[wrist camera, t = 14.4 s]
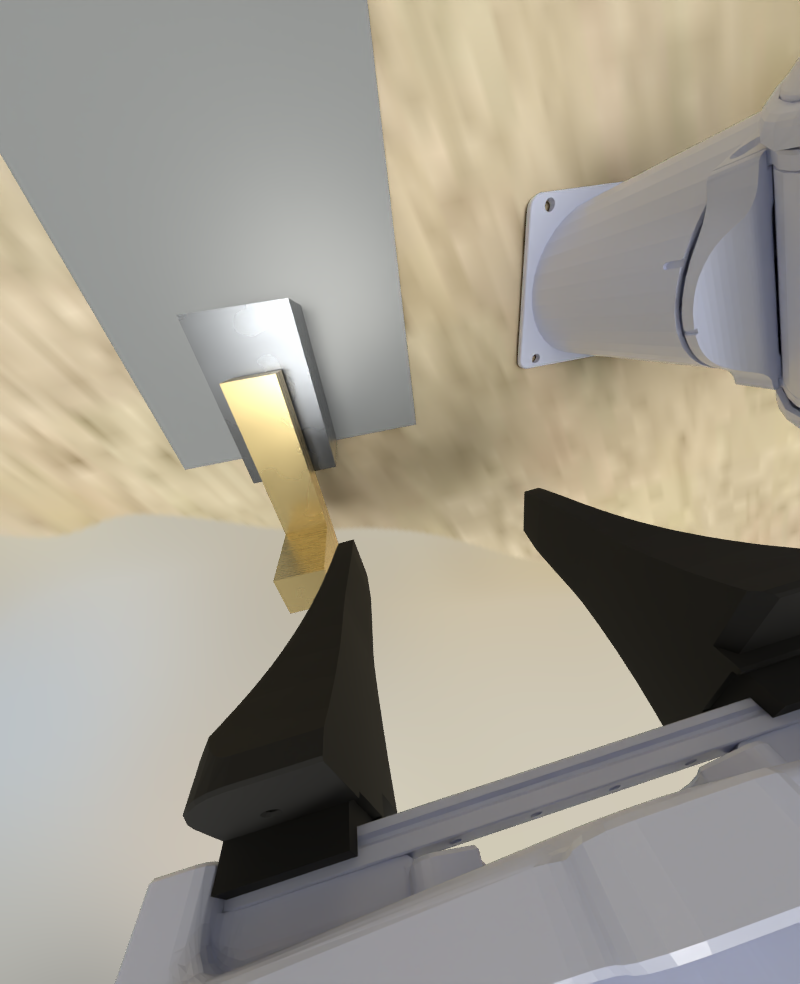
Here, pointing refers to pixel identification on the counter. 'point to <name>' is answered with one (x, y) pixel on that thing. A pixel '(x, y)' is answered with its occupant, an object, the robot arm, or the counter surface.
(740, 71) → the counter surface
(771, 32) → the counter surface
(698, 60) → the counter surface
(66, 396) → the counter surface
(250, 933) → the robot arm
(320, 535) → the latch bolt
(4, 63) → the housing plate
